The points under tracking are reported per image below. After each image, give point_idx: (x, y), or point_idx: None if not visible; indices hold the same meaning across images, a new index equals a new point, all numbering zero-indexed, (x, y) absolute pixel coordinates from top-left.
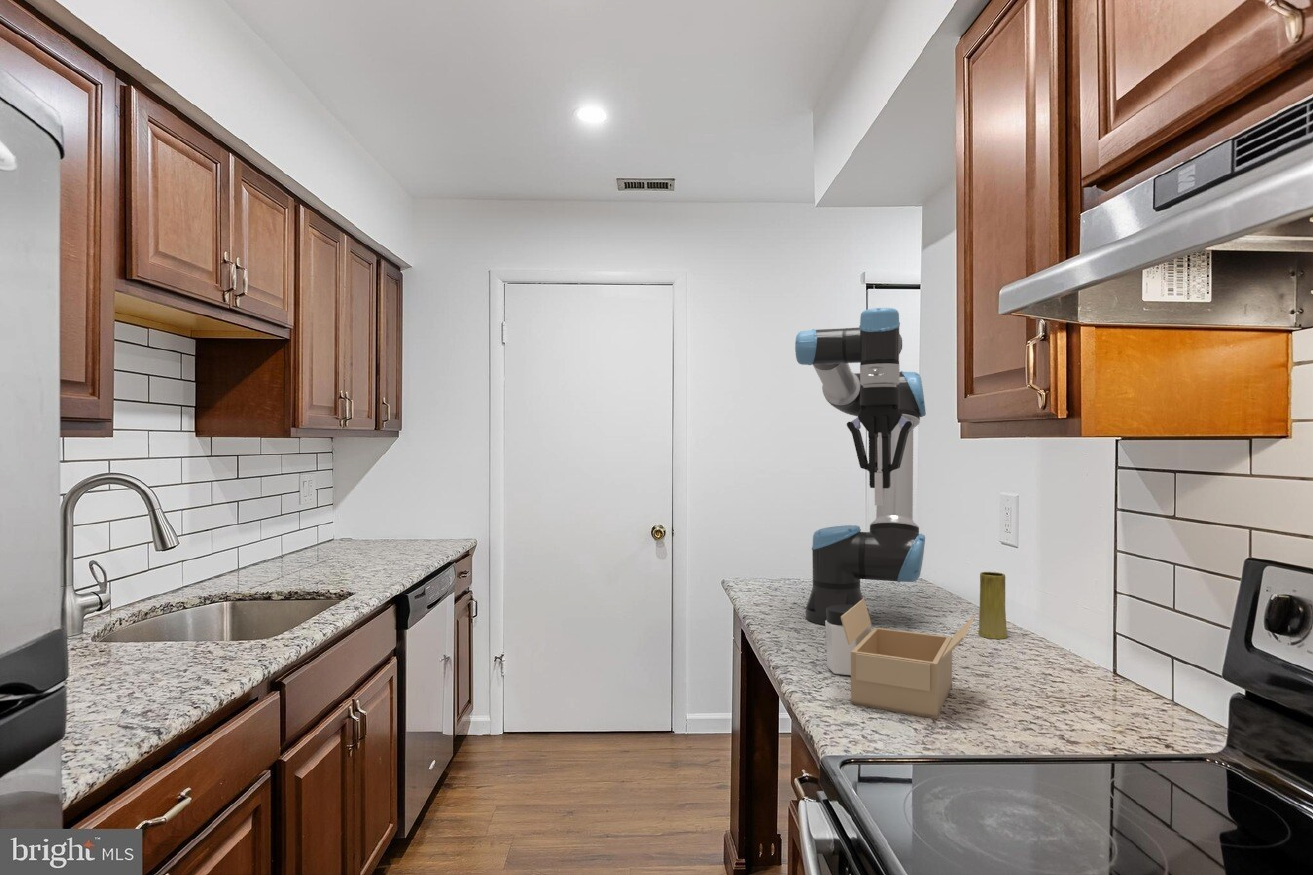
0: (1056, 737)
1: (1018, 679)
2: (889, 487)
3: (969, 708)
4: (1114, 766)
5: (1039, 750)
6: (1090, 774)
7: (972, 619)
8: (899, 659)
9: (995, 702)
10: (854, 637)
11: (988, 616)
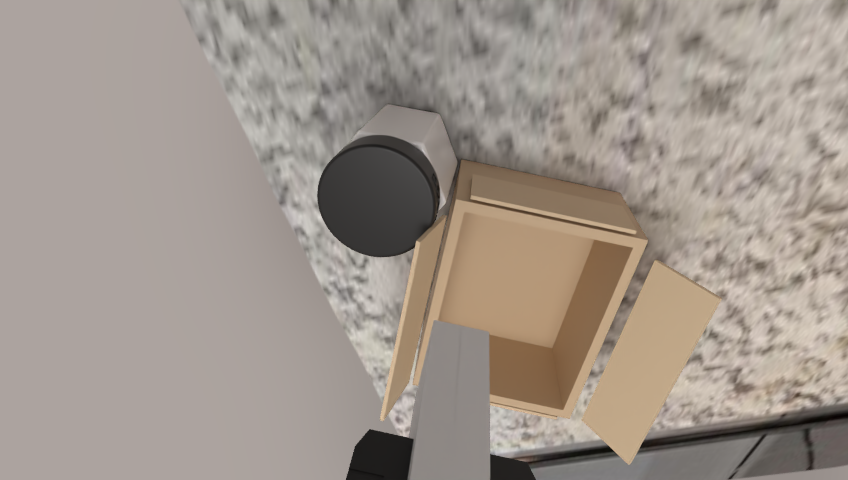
0: (725, 378)
1: (797, 106)
2: (526, 474)
3: (622, 300)
4: (761, 442)
5: (679, 418)
6: (715, 463)
7: (703, 329)
8: (503, 403)
9: (682, 263)
10: (414, 353)
11: None
